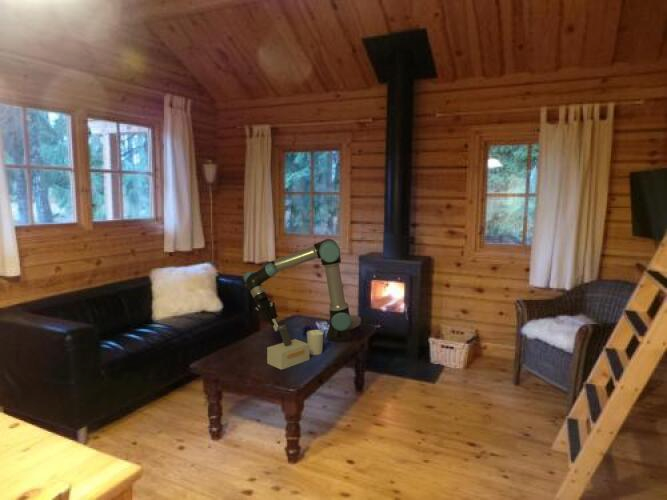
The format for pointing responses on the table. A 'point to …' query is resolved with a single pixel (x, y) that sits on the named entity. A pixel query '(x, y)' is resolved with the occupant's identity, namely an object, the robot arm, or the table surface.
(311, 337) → the candle holder
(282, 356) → the beige rectangular box
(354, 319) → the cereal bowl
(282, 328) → the lever
